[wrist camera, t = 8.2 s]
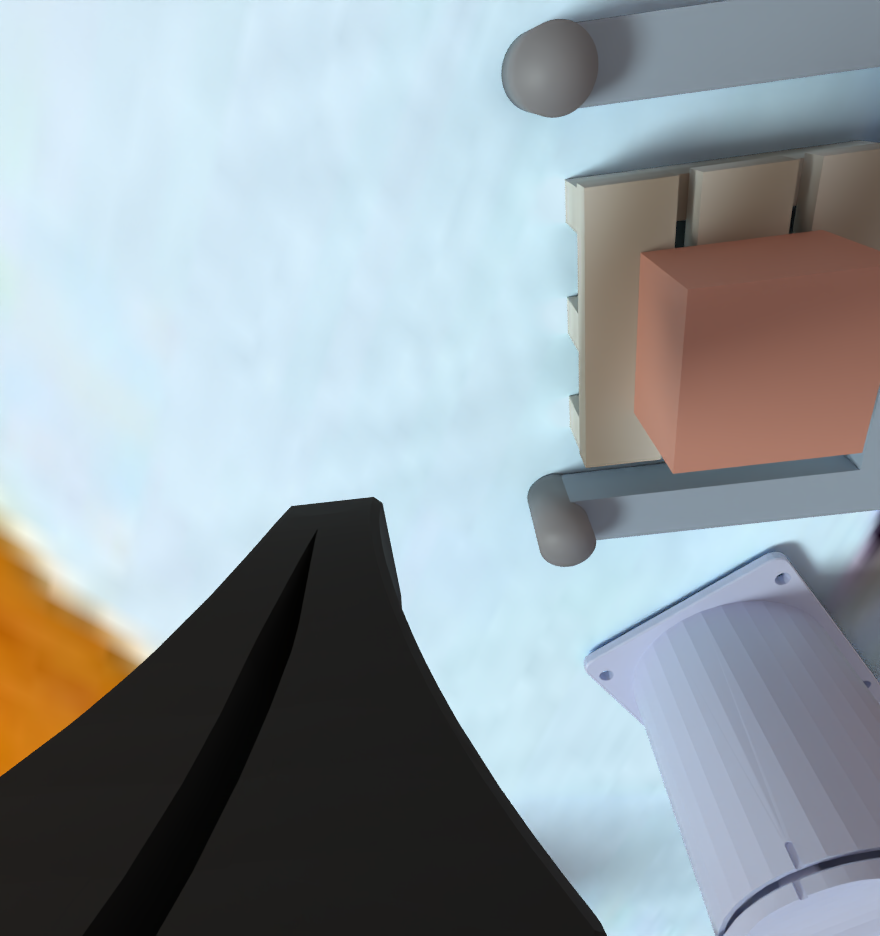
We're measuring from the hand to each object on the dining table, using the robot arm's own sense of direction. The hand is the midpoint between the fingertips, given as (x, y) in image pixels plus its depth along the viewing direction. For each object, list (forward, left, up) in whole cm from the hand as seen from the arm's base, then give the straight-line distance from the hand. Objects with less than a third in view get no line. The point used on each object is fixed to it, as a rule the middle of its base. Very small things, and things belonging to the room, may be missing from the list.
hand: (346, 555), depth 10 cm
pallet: (-5, -7, -10) cm, 13 cm away
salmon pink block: (-4, -7, -7) cm, 11 cm away
